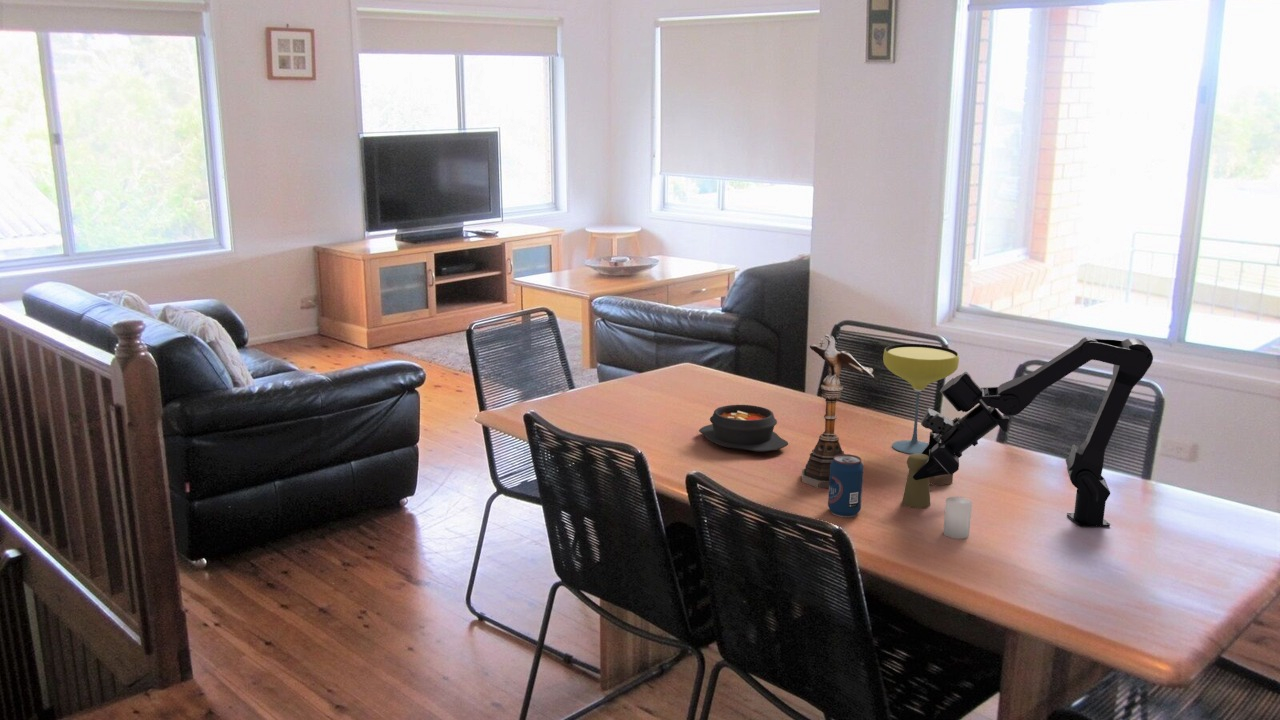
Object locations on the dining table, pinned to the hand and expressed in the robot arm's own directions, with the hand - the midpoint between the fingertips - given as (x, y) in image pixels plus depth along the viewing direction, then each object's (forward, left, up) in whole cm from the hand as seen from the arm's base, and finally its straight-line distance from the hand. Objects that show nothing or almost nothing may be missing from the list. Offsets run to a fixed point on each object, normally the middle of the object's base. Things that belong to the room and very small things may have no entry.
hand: (914, 471), depth 228 cm
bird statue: (+17, +14, -7) cm, 23 cm away
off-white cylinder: (-17, -4, -7) cm, 19 cm away
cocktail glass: (+38, -12, -7) cm, 40 cm away
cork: (0, -1, -7) cm, 7 cm away
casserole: (+42, +31, -7) cm, 53 cm away
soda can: (-5, +16, -7) cm, 18 cm away
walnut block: (+14, -10, -7) cm, 18 cm away
